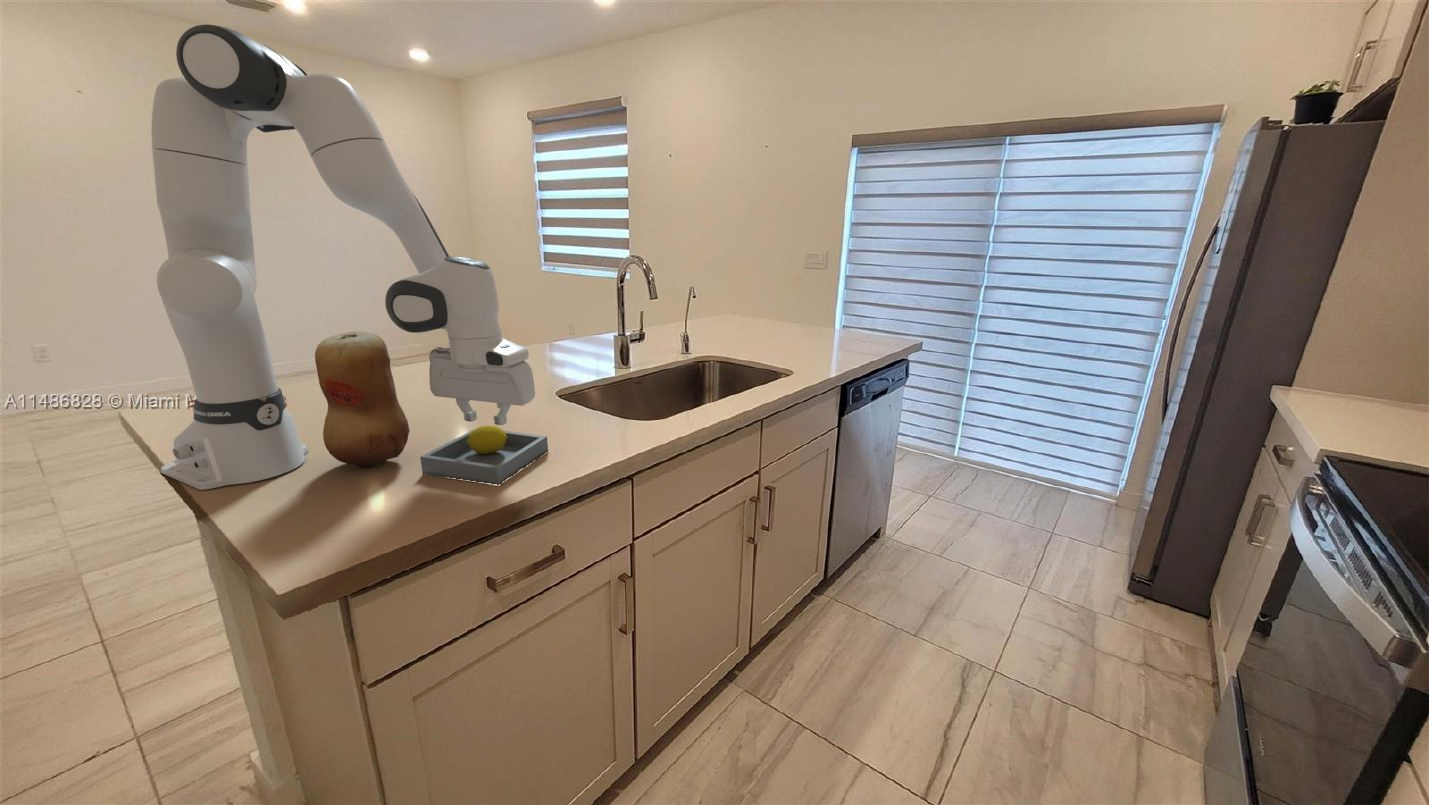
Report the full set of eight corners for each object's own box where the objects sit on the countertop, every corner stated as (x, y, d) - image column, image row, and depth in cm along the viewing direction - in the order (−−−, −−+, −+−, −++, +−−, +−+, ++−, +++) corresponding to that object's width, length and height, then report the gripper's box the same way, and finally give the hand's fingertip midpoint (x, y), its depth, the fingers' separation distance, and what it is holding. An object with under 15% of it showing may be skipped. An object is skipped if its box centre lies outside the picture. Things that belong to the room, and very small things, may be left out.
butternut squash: (313, 479, 97) (282, 340, 90) (354, 450, 110) (331, 325, 102) (394, 479, 98) (371, 341, 91) (426, 449, 111) (408, 326, 103)
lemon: (477, 444, 112) (515, 439, 111) (467, 461, 107) (507, 457, 107) (466, 422, 108) (506, 417, 108) (456, 439, 104) (497, 434, 103)
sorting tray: (422, 474, 100) (420, 456, 99) (480, 443, 115) (478, 427, 114) (499, 486, 97) (497, 468, 96) (548, 452, 111) (547, 436, 110)
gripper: (415, 349, 99) (426, 422, 103) (515, 358, 94) (523, 433, 98) (440, 342, 105) (450, 411, 109) (536, 350, 100) (542, 422, 104)
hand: (485, 422), depth 104 cm, fingers open, 5 cm apart
